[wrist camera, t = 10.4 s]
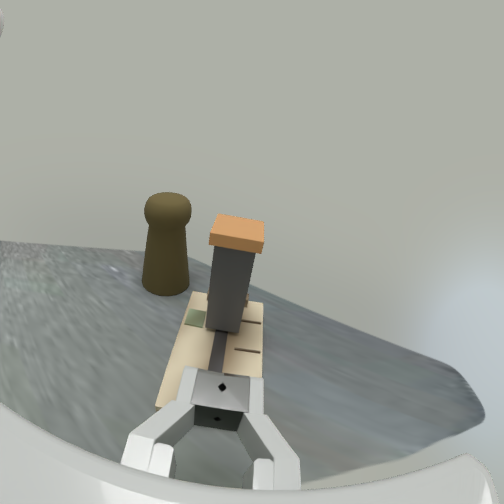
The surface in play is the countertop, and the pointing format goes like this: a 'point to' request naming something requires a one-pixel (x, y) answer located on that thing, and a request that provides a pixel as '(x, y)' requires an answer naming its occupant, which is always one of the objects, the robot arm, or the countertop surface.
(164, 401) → the fader board
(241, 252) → the fader knob
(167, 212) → the cork
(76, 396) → the countertop surface
